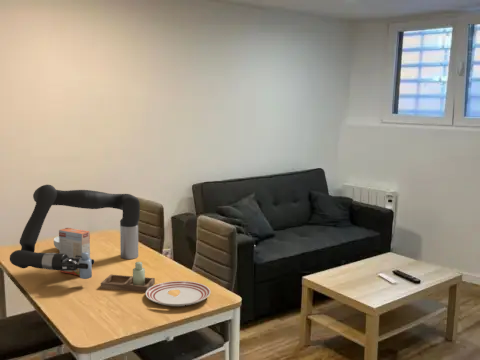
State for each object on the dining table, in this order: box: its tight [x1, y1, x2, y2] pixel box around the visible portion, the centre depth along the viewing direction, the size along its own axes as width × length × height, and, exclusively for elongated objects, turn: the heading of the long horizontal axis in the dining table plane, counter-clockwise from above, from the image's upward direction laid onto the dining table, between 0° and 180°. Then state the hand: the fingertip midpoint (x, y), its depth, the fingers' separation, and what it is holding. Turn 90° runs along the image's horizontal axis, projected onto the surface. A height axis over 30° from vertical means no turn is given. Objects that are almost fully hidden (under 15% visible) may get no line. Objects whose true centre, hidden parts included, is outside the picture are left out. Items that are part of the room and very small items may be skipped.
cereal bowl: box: [53, 235, 60, 251], centre depth 276 cm, size 17×17×7 cm
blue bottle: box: [79, 252, 93, 280], centre depth 225 cm, size 5×5×11 cm
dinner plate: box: [145, 280, 212, 307], centre depth 216 cm, size 28×27×3 cm
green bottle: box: [132, 261, 146, 286], centre depth 225 cm, size 5×5×11 cm
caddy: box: [100, 274, 156, 293], centre depth 226 cm, size 11×21×3 cm, turn 81°
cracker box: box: [58, 227, 91, 277], centre depth 241 cm, size 14×6×21 cm, turn 65°
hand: (90, 264), depth 225 cm, fingers closed on blue bottle, 5 cm apart
